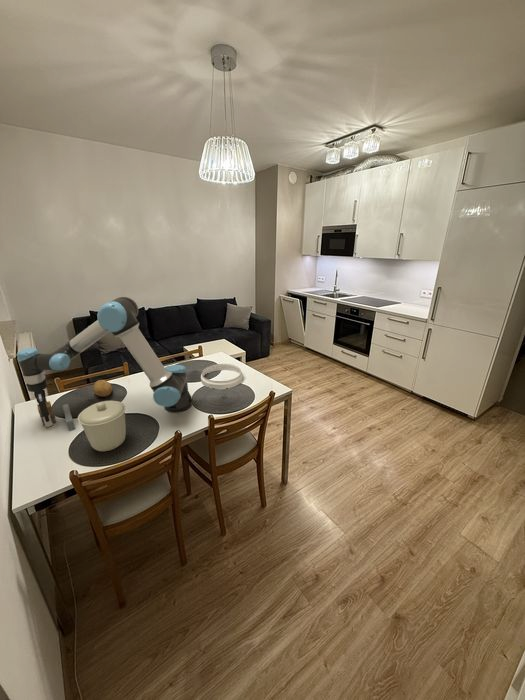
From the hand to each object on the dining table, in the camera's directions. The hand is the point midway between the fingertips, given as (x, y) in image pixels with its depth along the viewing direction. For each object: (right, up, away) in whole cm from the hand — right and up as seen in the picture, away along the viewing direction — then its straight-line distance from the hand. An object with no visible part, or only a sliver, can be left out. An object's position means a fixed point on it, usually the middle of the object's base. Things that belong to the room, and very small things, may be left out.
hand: (48, 421), depth 139 cm
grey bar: (+10, 0, +1) cm, 10 cm away
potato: (+14, +9, +25) cm, 30 cm away
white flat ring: (+80, +16, +45) cm, 93 cm away
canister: (+38, -6, -13) cm, 40 cm away
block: (0, 0, 0) cm, 0 cm away
